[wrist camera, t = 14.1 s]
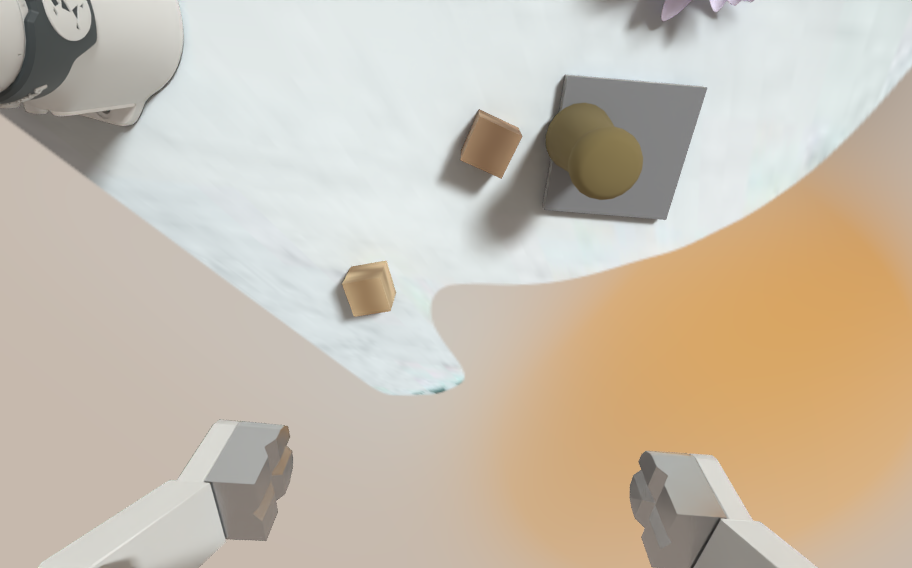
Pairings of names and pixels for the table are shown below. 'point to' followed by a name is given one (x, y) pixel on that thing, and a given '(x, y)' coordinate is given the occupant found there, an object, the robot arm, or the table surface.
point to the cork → (594, 151)
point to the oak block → (369, 288)
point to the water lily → (676, 3)
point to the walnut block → (490, 144)
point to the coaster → (654, 127)
